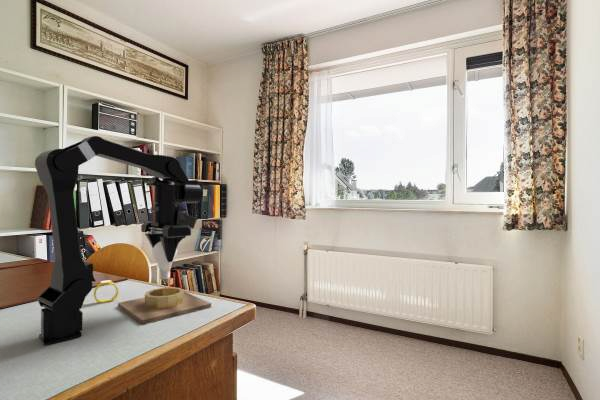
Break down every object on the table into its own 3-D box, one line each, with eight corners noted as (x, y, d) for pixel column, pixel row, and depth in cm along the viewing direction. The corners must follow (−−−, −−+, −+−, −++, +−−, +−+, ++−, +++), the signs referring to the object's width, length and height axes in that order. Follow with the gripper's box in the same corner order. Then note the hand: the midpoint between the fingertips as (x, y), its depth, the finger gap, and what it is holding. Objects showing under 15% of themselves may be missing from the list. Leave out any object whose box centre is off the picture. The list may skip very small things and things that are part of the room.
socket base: (142, 324, 77) (142, 320, 77) (117, 306, 90) (117, 302, 90) (211, 306, 90) (211, 303, 90) (181, 293, 103) (181, 290, 103)
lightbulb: (146, 281, 88) (147, 240, 89) (166, 276, 94) (166, 238, 94) (163, 284, 85) (163, 242, 86) (182, 279, 91) (182, 239, 91)
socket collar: (153, 311, 83) (153, 299, 83) (139, 302, 90) (139, 291, 90) (189, 303, 90) (189, 292, 90) (173, 295, 97) (174, 285, 97)
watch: (94, 305, 91) (93, 284, 91) (94, 303, 93) (92, 282, 93) (119, 300, 95) (117, 280, 94) (117, 298, 97) (116, 278, 97)
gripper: (209, 203, 89) (209, 261, 89) (178, 202, 102) (177, 253, 102) (169, 203, 81) (168, 266, 81) (140, 202, 94) (140, 257, 94)
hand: (164, 260), depth 90 cm, fingers closed on lightbulb, 6 cm apart
